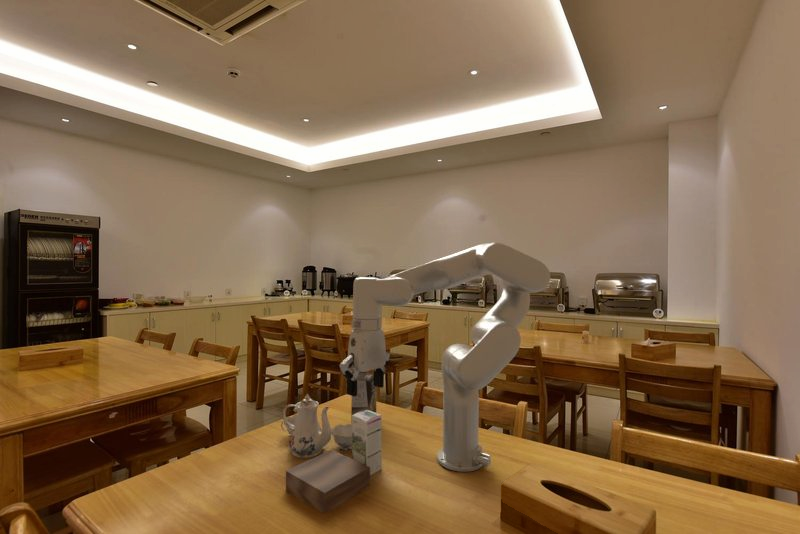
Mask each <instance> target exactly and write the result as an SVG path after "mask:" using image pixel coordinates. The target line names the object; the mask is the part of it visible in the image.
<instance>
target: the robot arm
mask: <svg viewBox="0 0 800 534" xmlns="http://www.w3.org/2000/svg"><path fill="white" fill-rule="evenodd" d="M488 275H490V276H495V277H498V278H500V279H501V284H502V291H501V295H500V297H499V298H498V301H496V303H494V305H493V306H492V307H491V308H490V309H489V310H488V311H487V312H486V313H485V314H484V315H483V316H482V317H481V318H480V319H479V320H478V321H477V322H476V323H475V324H474V325H473V327H472V329H471V331H470V332H471V334H470V337H471V338H470V339H471V340H472V343H473V344H474V346H473V347H471V346H469V345H468V344H463V343H454V344H451V345H450V346H448V347H447V348H446V349H445V350H444V352H443V354H442V356H441V363H440V365H441V375H442V387H443V388H442V393H443V395H442V396H443V397H442V398H443V399H442V400H443V403H442V405H443V408H442V409H443V412H442V415H443V417H442V418H443V419H442V421H443V422H442V427H443V429H442V448H441V449H440V450H439V451H438V452H437V454H436V456H437V459H436V460H437V463H438V464H440V465H441V466H442V467H444V468H445V469H448V470H450V471H453V472H454V471H455V472H458V473H459V472H461V473H467V472H475V471H477V470H479V469H481V468H482V467H483V466H486V467H487V468H489V467H490V466H491V464H492V460H491V454H488V453H484V452H483V446H482V445H481V444H479V415H480V413H479V405H480V398H479V397H480V395H479V390H481V389H483V388H485V387H486V386H488V385H489V384H490V383H491V382H492V381H493V380H494V379H495V378H496V377H497V376H499V373H501V371H503V369H504V368H506V366H508V364H509V363H510V362H511V361H512V360H513V359H514V358H515V357H516V355H517V353H518V352H519V351H520V347H521V342H522V339H521V333H520V331H519V329H518V327H519V326H520V325H521V323H522V322H523V321H524V319H525V318H526V317H527V315H528V313H529V310H530V307H531V306H530V303H531V294H535V293H539V292H542V291H544V290H545V289H547V287H548V286H549V284H550V282H551V273H550V270H549V269H548V267H547V265H546V264H544V263H543V262H542V261H540V260H539V259H537V258H534V257H533V256H531V255H528V254H526V253H524V252H523V251H522V252H521V251H520V250H517V249H515V248H513V247H511V246H509V245H506V244H504V243H501V242H486V243H482V244H481V243H480V244H477V245H474V246H471V247H469V248H466V249H464V250H460V251H458V252H457V251H456V252H455V253H452V254H449V255H446V256H444V257H441V258H438V259H435V260H432V261H429V262H426V263H423V264H421V265H417V266H415V267H412V268H408V269H406V270H403V271H400V272H398V273H395V274H391V275H389V276H387V277H385V278H380V277H377V276H376V277H374V276H373V277H372V276H360V277H356V278H355V279H354V280H353V286H352V288H353V289H352V290H353V292H352V293H353V294H352V297H353V298H352V321H351V323H350V326H351V327H350V328H352V330H351V331H350V335H349V339H348V348H347V357H346V358H345V359H343V360H342V362H340V363H339V365H338V366H339V369H340V371H341V374H342V375H343V376H344V379H346V394H347V396H348V395H349V396H351V397H352V396H354V397H355V396H357V380H355V379H356V377H357V376H358V374H359V373H367V372H369V371H373V373H374V379H373V385H374V386H377V388H380V389H383V388H384V384H385V383H384V382H385V381H384V380H385V372H386V370H387V369H386V368H387V366H388V365H389V360H390V356H391V354H390V353H389V352H387V351H386V349H387V347H386V338H385V331H384V329H383V328H382V324H383V322H382V317H383V305H385V306H391V307H403V306H407V305H408V304H410V303H411V301H412V299H413V298H414V296H415V295H419V294H421V293H425V292H430V291H442V290H443V291H444V290H447V289H451V288H454V287H457V286H461V285H463V284H466V283H468V282H471V281H473V280H476V279H477V280H478V279H479V278H482V277H485V276H488Z"/></svg>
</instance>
